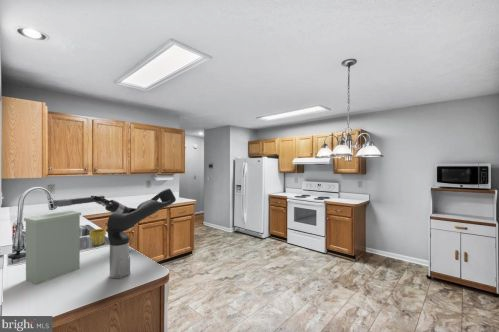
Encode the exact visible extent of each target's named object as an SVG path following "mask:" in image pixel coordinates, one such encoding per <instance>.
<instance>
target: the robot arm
mask: <svg viewBox="0 0 499 332" xmlns="http://www.w3.org/2000/svg"><path fill="white" fill-rule="evenodd" d="M97 196H98V195H91V196H90V197H94V199H95V200H97V201H99V202H95V203H96V204H98V205H100V206H102V207H105V210H106V211H108V212H110V213H112V214H110V215H109V217H108V219H107V228H106V229H107V240H108V242H109V277H110V278H111V279H122V278H124V277H126V276H129V275H130V274H131V256H130V237H129V235H127V234H126V233H125V232H126V231H128V230H130V229H131V228H133V227H134V226H136V225H137V224H138V223H140V222H142V221H143V220H145V219H147V218H149V217H151V216H153V215H154V214H155V213H157V212H158V211H160V210H162V209H164V208H167V207H169V206H171V205H172V204H174V203H175V202H176V200H177V199H176V196H175V194H174V192H173V191H172V190H171V188H166V189H164V190H162V191H160V192H158V193H157V194H156V195H154V196H153V197H152V198H151V199H148V200H145V201H143V202H141V203H140V204H139V205H138V206H137V208H135V207H128V206H126V205H124V204H122V203H120V202H119V201H117V200H114V199H110V200H109V199H106V198H105V199H103V198H100V197H97ZM159 200H160V201H159Z"/></svg>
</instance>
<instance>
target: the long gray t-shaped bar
mask: <svg viewBox="0 0 499 332" xmlns="http://www.w3.org/2000/svg"><path fill="white" fill-rule="evenodd" d="M96 196H97V197H100V198H103V199H106V198H105V195H96ZM96 202H99V201H97V200H95V199H94V197H91V196H89V197H75V198H68V199H67V198H65V199H56V200H53V201H52V203H53V204H52V206H53V207H57V208H58V207H59V208H61V207H68V206H73V205H74V206H75V205H82V204H89V203H96Z"/></svg>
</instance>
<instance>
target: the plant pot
mask: <svg viewBox="0 0 499 332" xmlns="http://www.w3.org/2000/svg"><path fill="white" fill-rule="evenodd" d="M106 229H107V228H106ZM106 229H105V228H98V229H92V230H90V231H89V238H90V239H91V243H92V246H100V245H101V246H102V244H104V243H105V237H106V235H107V230H106Z"/></svg>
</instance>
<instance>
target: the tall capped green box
mask: <svg viewBox="0 0 499 332" xmlns="http://www.w3.org/2000/svg"><path fill="white" fill-rule="evenodd" d="M81 215H82V212H80V211H74V210H66V211H60V212H54V213H46V214H42V215H40V214H39V215H35V216H29V217H23V221H24V222H25V281H27V282H29V283H31V284H34V285H36V286H37V285H39V284H41V283H45V282H47V281H51V280H52V279H55V278H58V277H61V276H62V275H66V274H68V273H72V272H74V271H76V270H79V269H80V267H81V266H80V264H81V263H80V261H81V260H80V256H81V255H80V253H81V252H80V249H81V247H80V246H81V245H80V243H81V241H80V236H81V235H80V233H81V230H80V228H81V226H80V216H81Z"/></svg>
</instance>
